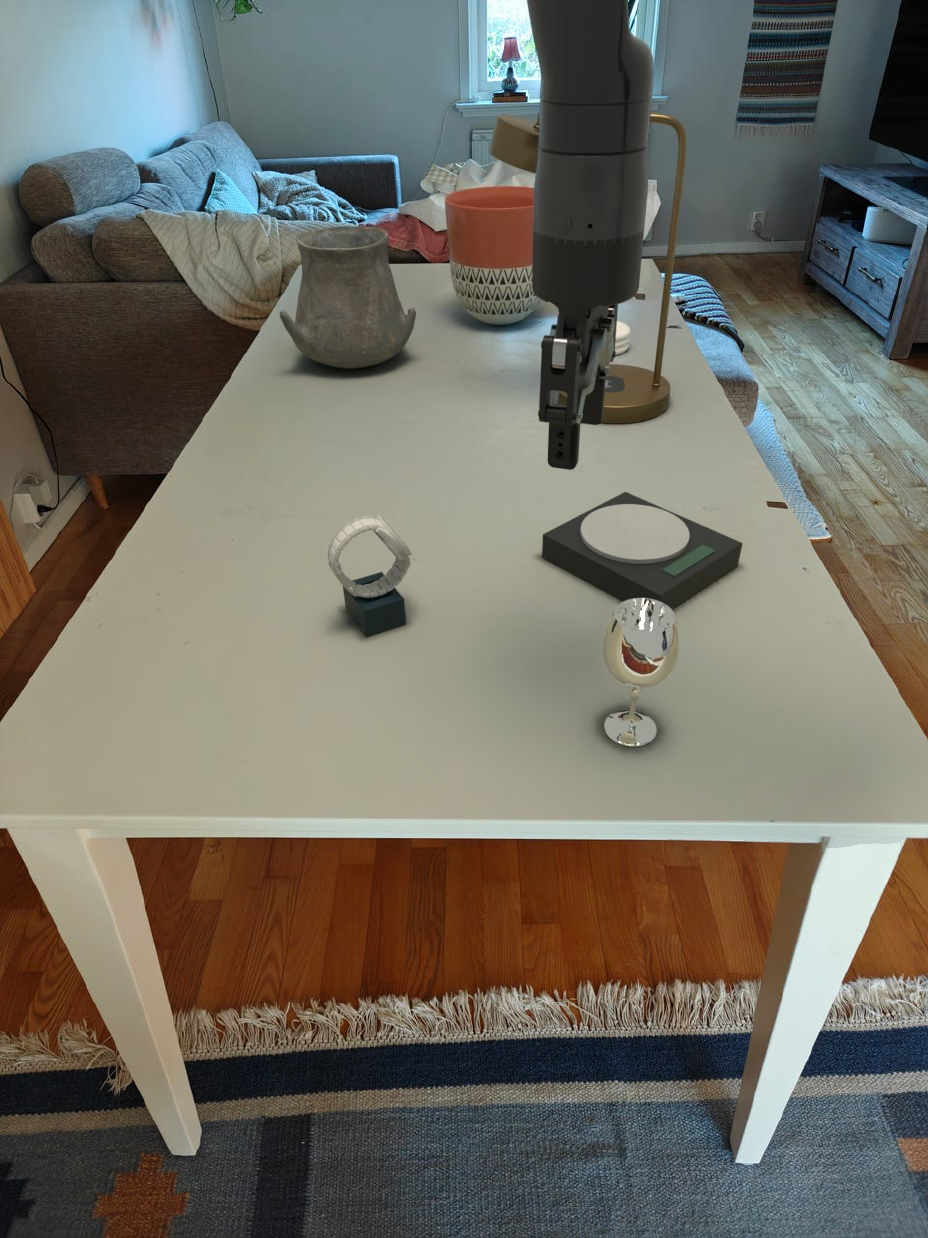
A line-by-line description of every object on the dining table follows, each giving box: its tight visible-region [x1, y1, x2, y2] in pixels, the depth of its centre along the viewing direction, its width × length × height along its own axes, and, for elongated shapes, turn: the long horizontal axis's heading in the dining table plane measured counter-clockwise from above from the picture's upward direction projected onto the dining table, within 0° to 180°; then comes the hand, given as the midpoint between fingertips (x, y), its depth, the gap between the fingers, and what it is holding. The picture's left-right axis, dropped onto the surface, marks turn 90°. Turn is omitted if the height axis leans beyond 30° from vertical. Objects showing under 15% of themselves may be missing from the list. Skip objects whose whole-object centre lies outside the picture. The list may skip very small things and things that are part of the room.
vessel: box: [279, 225, 417, 369], centre depth 141 cm, size 22×22×20 cm
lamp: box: [488, 112, 688, 425], centre depth 118 cm, size 17×27×38 cm, turn 83°
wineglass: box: [603, 598, 679, 748], centre depth 69 cm, size 6×6×12 cm
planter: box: [444, 185, 542, 326], centre depth 155 cm, size 20×20×21 cm
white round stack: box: [615, 320, 631, 356], centre depth 147 cm, size 10×10×4 cm
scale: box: [541, 491, 743, 610], centre depth 92 cm, size 16×14×4 cm
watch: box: [327, 514, 413, 638], centre depth 83 cm, size 6×8×11 cm
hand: (576, 443), depth 67 cm, fingers open, 8 cm apart
